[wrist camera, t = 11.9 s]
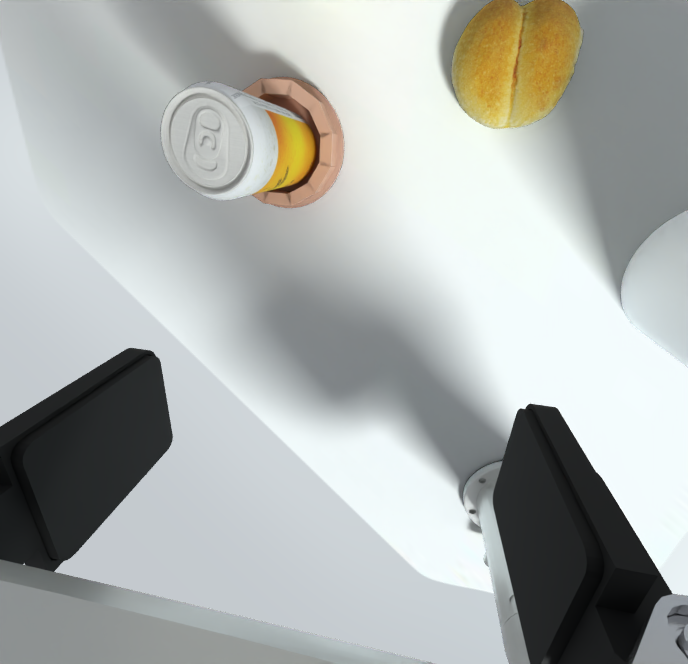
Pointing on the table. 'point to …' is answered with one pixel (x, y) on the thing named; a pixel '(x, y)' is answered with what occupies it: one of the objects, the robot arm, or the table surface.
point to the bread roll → (515, 61)
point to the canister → (660, 288)
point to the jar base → (325, 131)
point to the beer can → (234, 142)
